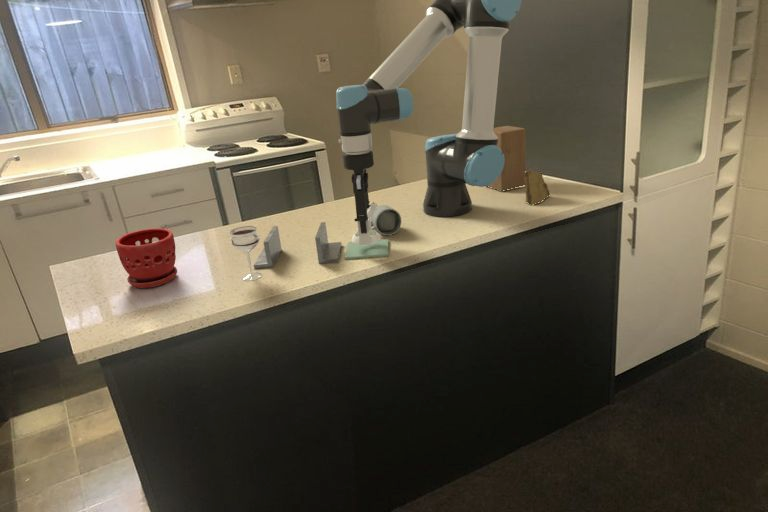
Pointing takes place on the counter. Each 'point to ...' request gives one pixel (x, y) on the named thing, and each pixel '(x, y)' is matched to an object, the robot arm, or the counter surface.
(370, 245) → the mat
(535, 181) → the rock
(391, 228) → the ceramic mug
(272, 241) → the dark grey bookends
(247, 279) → the wineglass
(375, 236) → the white curved piece
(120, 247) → the plant pot
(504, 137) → the wooden block
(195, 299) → the counter surface
